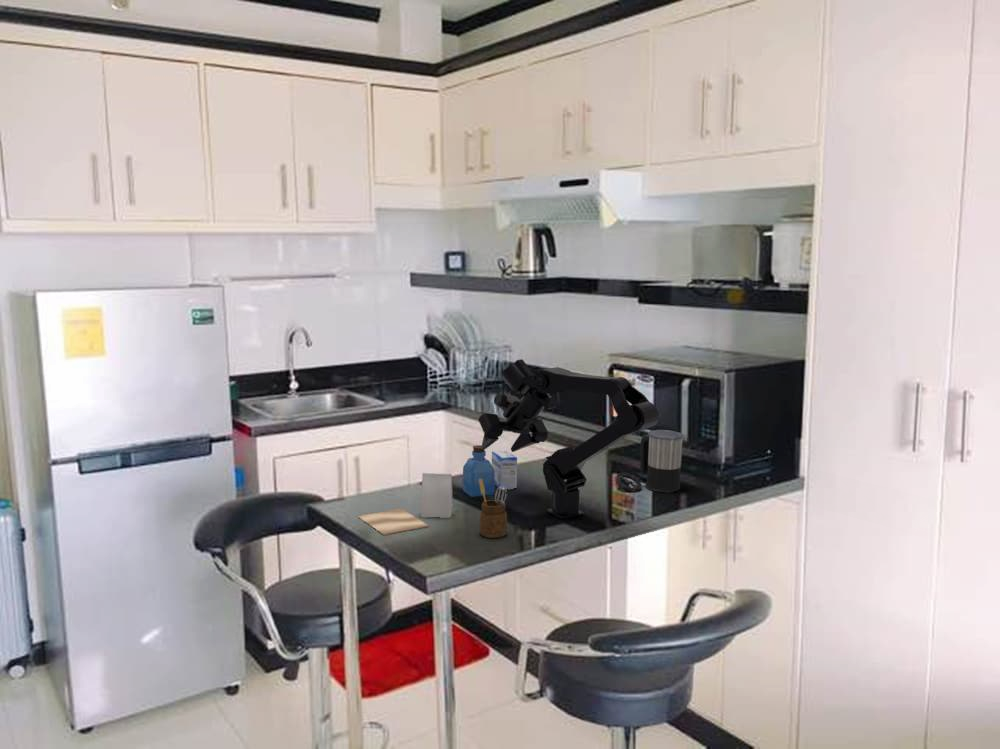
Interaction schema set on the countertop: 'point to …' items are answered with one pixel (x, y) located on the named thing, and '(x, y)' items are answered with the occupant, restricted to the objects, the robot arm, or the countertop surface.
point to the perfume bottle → (478, 473)
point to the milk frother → (657, 462)
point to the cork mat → (393, 521)
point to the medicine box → (504, 469)
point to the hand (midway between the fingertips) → (497, 449)
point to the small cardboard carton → (436, 495)
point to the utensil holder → (492, 516)
